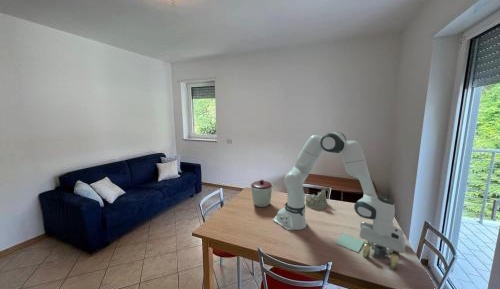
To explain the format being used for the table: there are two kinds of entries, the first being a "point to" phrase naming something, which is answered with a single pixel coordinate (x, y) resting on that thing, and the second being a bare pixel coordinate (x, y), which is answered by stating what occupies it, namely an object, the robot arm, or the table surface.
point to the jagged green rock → (317, 201)
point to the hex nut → (380, 251)
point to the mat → (350, 242)
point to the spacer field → (393, 256)
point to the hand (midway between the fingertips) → (380, 251)
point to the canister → (261, 193)
